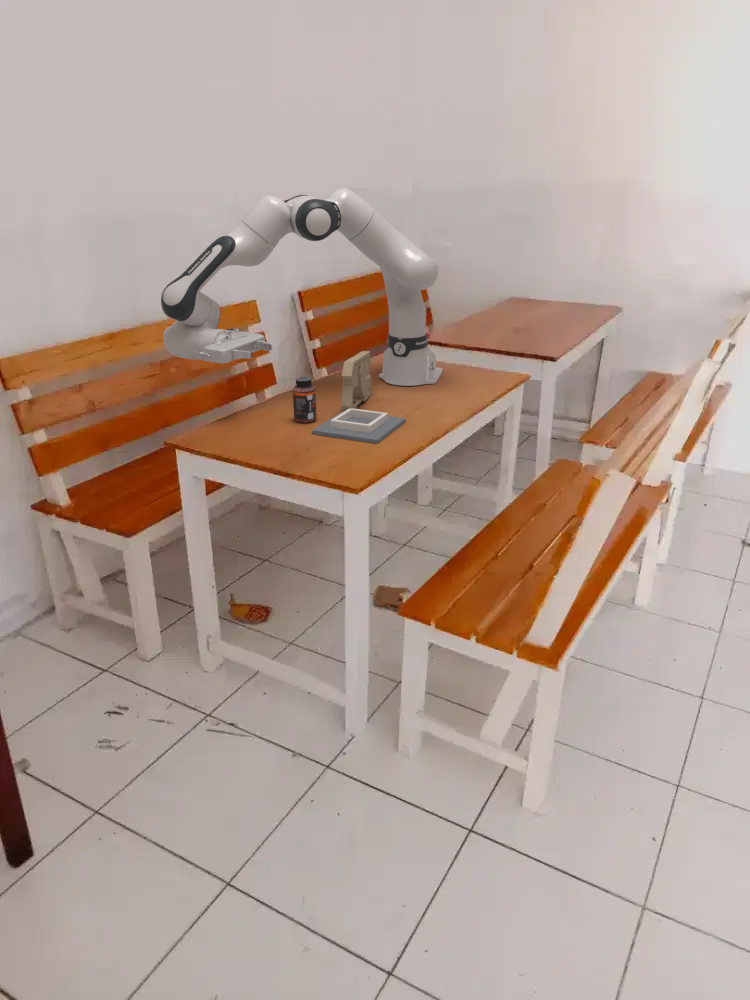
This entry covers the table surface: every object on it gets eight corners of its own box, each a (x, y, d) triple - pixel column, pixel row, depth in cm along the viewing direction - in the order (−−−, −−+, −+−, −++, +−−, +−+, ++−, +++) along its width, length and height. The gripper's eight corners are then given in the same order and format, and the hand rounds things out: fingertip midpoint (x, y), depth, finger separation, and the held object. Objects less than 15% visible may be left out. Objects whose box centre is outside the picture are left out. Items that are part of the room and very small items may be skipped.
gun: (352, 421, 208) (351, 364, 203) (340, 420, 209) (339, 364, 204) (372, 402, 231) (371, 350, 226) (361, 401, 231) (360, 350, 227)
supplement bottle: (317, 423, 206) (316, 381, 202) (295, 424, 205) (292, 382, 201) (315, 416, 212) (313, 374, 207) (293, 417, 211) (291, 376, 206)
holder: (344, 413, 213) (344, 402, 212) (405, 421, 206) (405, 410, 205) (312, 434, 198) (311, 422, 197) (377, 443, 191) (377, 432, 190)
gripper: (192, 342, 201) (237, 347, 196) (237, 327, 218) (280, 331, 213) (194, 366, 204) (239, 372, 199) (239, 349, 221) (281, 354, 216)
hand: (261, 351), depth 206 cm, fingers open, 8 cm apart
